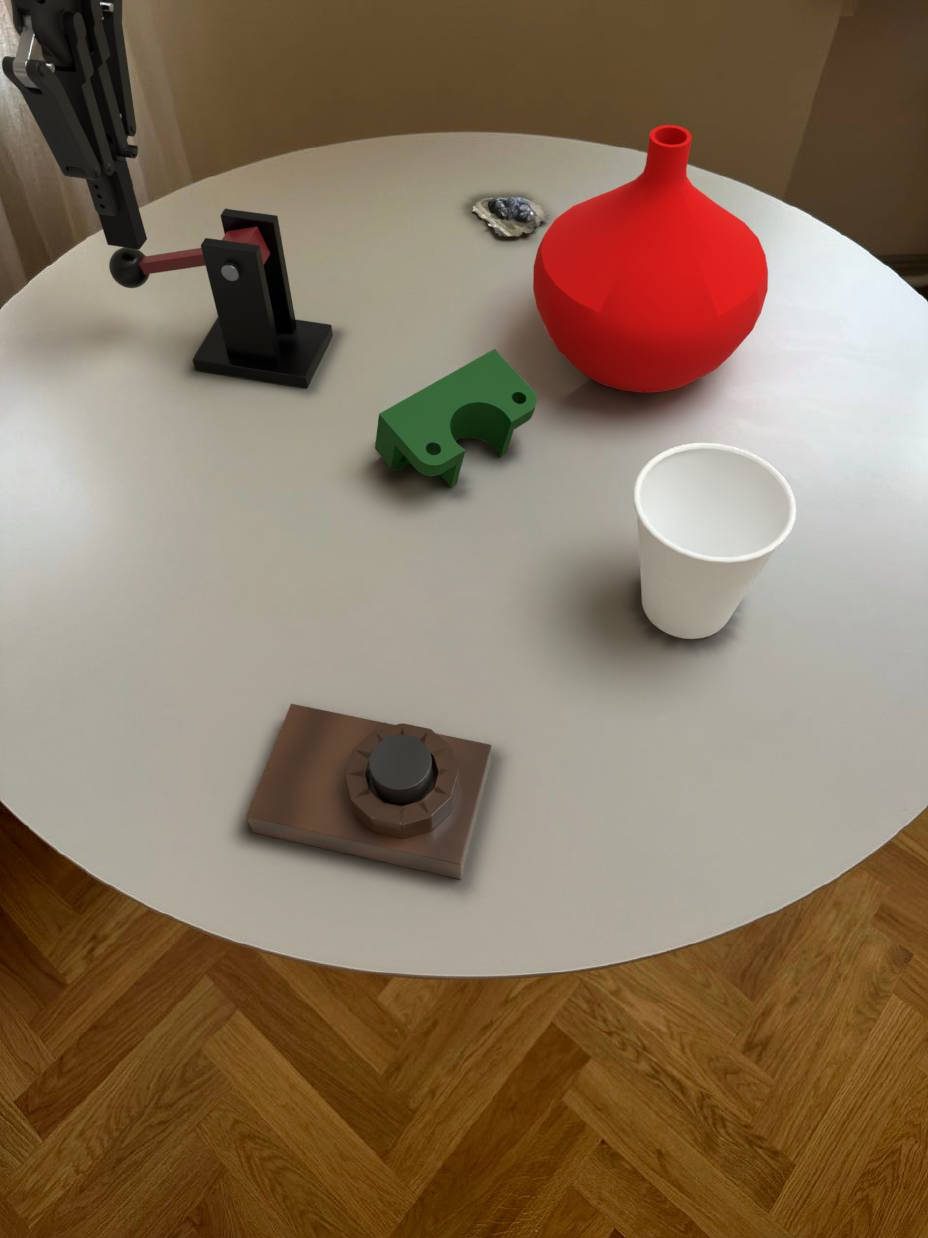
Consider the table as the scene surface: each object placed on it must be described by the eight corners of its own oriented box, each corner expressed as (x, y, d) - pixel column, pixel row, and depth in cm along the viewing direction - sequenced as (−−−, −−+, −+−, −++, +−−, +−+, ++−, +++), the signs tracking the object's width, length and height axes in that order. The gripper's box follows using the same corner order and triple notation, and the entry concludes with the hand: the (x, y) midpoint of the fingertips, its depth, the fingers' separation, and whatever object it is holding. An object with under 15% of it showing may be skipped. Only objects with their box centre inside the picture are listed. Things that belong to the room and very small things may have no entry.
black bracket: (194, 370, 88) (160, 247, 78) (225, 319, 92) (195, 196, 82) (307, 388, 86) (286, 265, 77) (333, 335, 90) (316, 212, 81)
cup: (785, 603, 72) (828, 495, 64) (701, 691, 68) (735, 589, 59) (671, 530, 76) (696, 419, 68) (585, 608, 72) (600, 501, 63)
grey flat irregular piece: (518, 249, 97) (519, 231, 96) (452, 219, 100) (452, 201, 99) (561, 216, 100) (562, 198, 99) (495, 188, 103) (495, 170, 102)
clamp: (435, 522, 83) (410, 487, 74) (390, 469, 84) (360, 429, 76) (550, 424, 83) (538, 378, 74) (502, 373, 84) (486, 322, 76)
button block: (252, 832, 63) (240, 802, 59) (295, 720, 67) (286, 687, 64) (461, 879, 61) (460, 852, 58) (491, 761, 65) (492, 729, 62)
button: (363, 796, 60) (361, 782, 59) (381, 743, 62) (379, 728, 61) (423, 809, 60) (422, 795, 58) (439, 755, 62) (438, 740, 60)
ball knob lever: (116, 298, 86) (95, 264, 83) (132, 275, 88) (112, 241, 85) (261, 278, 80) (242, 241, 78) (274, 253, 82) (257, 217, 80)
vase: (758, 431, 82) (822, 213, 67) (527, 425, 83) (538, 208, 68) (735, 288, 93) (785, 72, 78) (531, 284, 94) (541, 69, 79)
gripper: (32, -53, 59) (137, 297, 78) (129, -134, 67) (203, 203, 86) (-86, -66, 60) (45, 283, 79) (22, -144, 68) (118, 191, 87)
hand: (127, 241), depth 82 cm, fingers closed
